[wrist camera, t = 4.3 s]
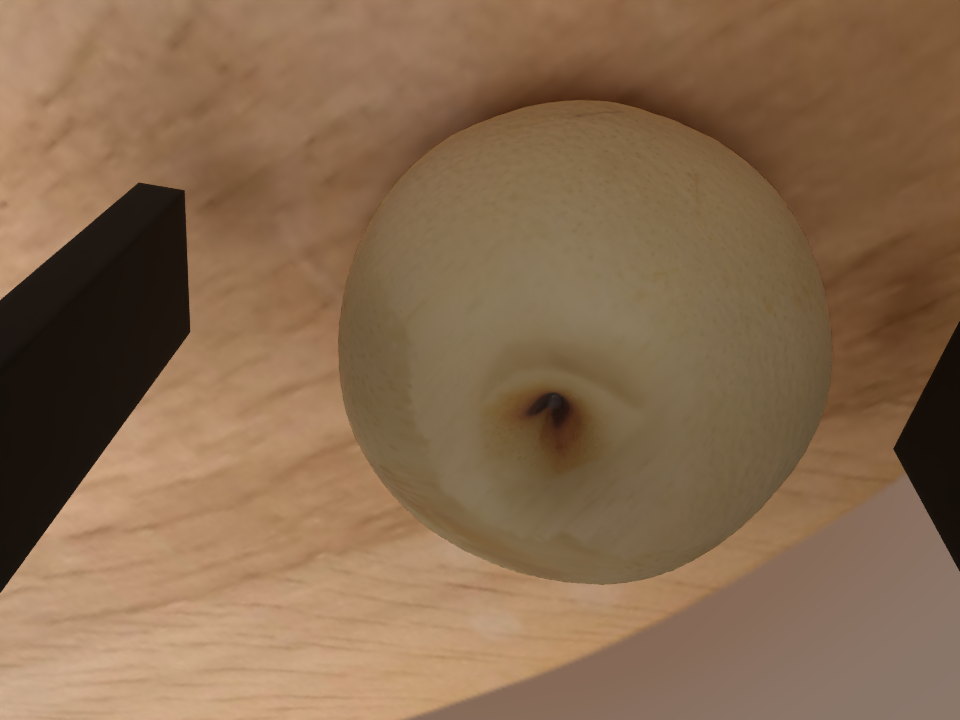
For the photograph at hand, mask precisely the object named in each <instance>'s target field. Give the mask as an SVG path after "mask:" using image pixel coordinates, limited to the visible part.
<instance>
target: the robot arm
mask: <svg viewBox="0 0 960 720" xmlns="http://www.w3.org/2000/svg"><path fill="white" fill-rule="evenodd" d="M189 333H190V313H189V288H188V263H187V238H186V213H185V190H179V189H174V188H168V187H162V186H156V185H150V184H144V183H138V184H137V185H135V186H134V187H133V188H132V189H131V190H130V191H128V192H127V193H126V194H125V195H124V196H122V197H121V198H120V199H119V200H118V201H117V202H115V203H114V204H113V205H112V206H111V207H109V208H108V209H107V210H106V211H105V212H104V213H102V214H101V215H100V216H99V217H98V218H96V219H95V220H94V221H93V222H92V223H91V224H89V225H88V226H87V227H86V228H85V229H84V230H82V231H81V232H80V233H79V234H78V235H76V236H75V237H74V238H73V239H72V240H71V241H69V242H68V243H67V244H66V245H65V246H63V247H62V248H61V249H60V250H59V251H58V252H56V253H55V254H54V255H53V256H52V257H50V258H49V259H48V260H47V261H46V262H45V263H43V264H42V265H41V266H40V267H39V268H38V269H36V270H35V271H34V272H33V273H32V274H30V275H29V276H28V277H27V278H26V279H25V280H23V281H22V282H21V283H20V284H19V285H17V286H16V287H15V288H14V289H13V290H12V291H10V292H9V293H8V294H7V295H6V296H5V297H3V298H2V299H1V300H0V593H1V591H2V590H3V589H4V587H5V586H6V584H7V583H8V582H9V580H10V579H11V578H12V576H13V575H14V574H15V572H16V571H17V569H18V568H19V567H20V565H21V564H22V563H23V561H24V560H25V558H26V557H27V556H28V554H29V553H30V552H31V550H32V549H33V547H34V546H35V545H36V543H37V542H38V541H39V539H40V538H41V536H42V535H43V534H44V532H45V531H46V530H47V528H48V527H49V525H50V524H51V523H52V521H53V520H54V519H55V517H56V516H57V514H58V513H59V512H60V510H61V509H62V508H63V506H64V505H65V503H66V502H67V501H68V499H69V498H70V497H71V495H72V494H73V492H74V491H75V490H76V488H77V487H78V486H79V484H80V483H81V481H82V480H83V479H84V477H85V476H86V475H87V473H88V472H89V470H90V469H91V468H92V466H93V465H94V464H95V462H96V461H97V459H98V458H99V457H100V455H101V454H102V453H103V451H104V450H105V448H106V447H107V446H108V444H109V443H110V442H111V440H112V439H113V437H114V436H115V435H116V433H117V432H118V431H119V429H120V428H121V426H122V425H123V424H124V422H125V421H126V420H127V418H128V417H129V415H130V414H131V413H132V411H133V410H134V409H135V407H136V406H137V404H138V403H139V402H140V400H141V399H142V398H143V396H144V395H145V393H146V392H147V391H148V389H149V388H150V387H151V385H152V384H153V382H154V381H155V380H156V378H157V377H158V376H159V374H160V373H161V371H162V370H163V369H164V367H165V366H166V365H167V363H168V362H169V360H170V359H171V358H172V356H173V355H174V354H175V352H176V351H177V350H178V348H179V347H180V345H181V344H182V343H183V341H184V340H185V339H186V337H187V336H188V334H189ZM893 449H894V451H895V453H896V455H897V457H898V459H899V460H900V462H901V464H902V466H903V468H904V470H905V471H906V473H907V475H908V477H909V479H910V481H911V483H912V484H913V486H914V488H915V490H916V492H917V494H918V495H919V497H920V499H921V501H922V503H923V504H924V506H925V508H926V510H927V512H928V514H929V516H930V517H931V519H932V521H933V523H934V525H935V527H936V529H937V531H938V532H939V534H940V535H941V538H942V540H943V542H944V543H945V545H946V547H947V549H948V551H949V552H950V555H951V556H952V558H953V560H954V562H955V564H956V566H957V567H958V569H959V571H960V321H959V323H958V325H957V327H956V329H955V331H954V333H953V334H952V336H951V338H950V340H949V342H948V344H947V346H946V348H945V350H944V352H943V354H942V356H941V358H940V360H939V361H938V363H937V365H936V367H935V369H934V371H933V373H932V375H931V377H930V379H929V381H928V383H927V385H926V387H925V389H924V390H923V392H922V394H921V396H920V398H919V400H918V402H917V404H916V406H915V408H914V410H913V412H912V414H911V416H910V417H909V419H908V421H907V423H906V425H905V427H904V429H903V431H902V433H901V435H900V437H899V439H898V441H897V443H896V445H895V446H894V448H893Z"/></svg>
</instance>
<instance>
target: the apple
mask: <svg viewBox="0 0 960 720" xmlns="http://www.w3.org/2000/svg"><path fill="white" fill-rule="evenodd" d="M339 325H340V326H339V339H338V344H339V370H340V382H341V388H342V393H343V400H344V405H345V409H346V413H347V416H348V419H349V422H350V425H351V428H352V430H353V433H354V435H355V438H356V440H357V442H358V444H359V446H360V448H361V450H362V452H363V453H364V455H365V457H366V459H367V460H368V462H369V463H370V465H371V467H372V468H373V470H374V472H375V473H376V474H377V475H378V477H379V478H380V480H381V481H382V483H383V484H384V485H385V486H386V488H387V489H388V490H389V491H390V492H391V494H392V495H393V496H394V497H395V498H396V499H397V500H398V501H399V502H400V503H401V504H402V505H403V506H404V507H405V509H406V510H407V511H409V512H410V513H411V514H412V515H413V516H414V517H415V518H417V519H418V520H419V521H420V522H421V523H423V524H424V525H425V526H426V527H428V528H429V529H430V530H432V531H433V532H435V533H437V534H438V535H439V536H441V537H442V538H444V539H446V540H448V541H449V542H450V543H452V544H454V545H456V546H457V547H459V548H461V549H463V550H465V551H467V552H469V553H471V554H473V555H475V556H477V557H480V558H482V559H484V560H487V561H489V562H491V563H493V564H496V565H498V566H500V567H503V568H507V569H509V570H513V571H516V572H519V573H523V574H526V575H531V576H536V577H540V578H544V579H550V580H557V581H562V582H571V583H586V584H600V585H604V584H617V583H627V582H632V581H639V580H644V579H648V578H652V577H654V576H657V575H661V574H664V573H666V572H670V571H673V570H675V569H677V568H679V567H681V566H683V565H685V564H687V563H689V562H691V561H693V560H695V559H696V558H698V557H700V556H701V555H703V554H705V553H707V552H708V551H710V550H711V549H713V548H715V547H716V546H718V545H719V544H720V543H722V542H723V541H724V540H726V539H727V538H728V537H729V536H731V535H732V534H734V533H735V532H736V531H737V530H738V529H739V528H741V527H742V526H743V525H744V524H745V523H746V522H747V521H748V520H749V519H750V518H751V517H752V516H753V515H754V514H755V513H757V512H758V511H759V510H760V509H761V507H762V506H763V505H764V504H765V503H766V502H767V501H768V500H769V499H770V498H771V496H772V495H773V494H774V493H775V492H776V491H777V489H778V488H779V487H780V486H781V485H782V483H783V482H784V481H785V480H786V478H787V477H788V476H789V475H790V473H791V472H792V471H793V469H794V468H795V466H796V465H797V463H798V462H799V461H800V459H801V457H802V456H803V454H804V453H805V451H806V449H807V447H808V446H809V444H810V442H811V440H812V438H813V436H814V434H815V432H816V430H817V427H818V425H819V422H820V420H821V417H822V414H823V412H824V409H825V405H826V401H827V397H828V392H829V387H830V380H831V370H832V332H831V326H830V318H829V311H828V306H827V300H826V295H825V291H824V286H823V281H822V278H821V276H820V272H819V269H818V266H817V263H816V261H815V258H814V256H813V253H812V251H811V248H810V246H809V244H808V241H807V239H806V237H805V235H804V233H803V231H802V229H801V227H800V226H799V224H798V222H797V221H796V219H795V217H794V215H793V214H792V212H791V210H790V209H789V208H788V206H787V205H786V203H785V202H784V200H783V199H782V198H781V196H780V195H779V194H778V193H777V191H776V190H775V189H774V188H773V187H772V185H771V184H770V183H769V182H768V181H767V180H766V179H765V178H764V177H763V176H762V175H761V174H760V173H759V172H758V171H757V170H756V169H755V168H754V167H752V166H751V165H750V164H749V163H747V162H746V161H745V160H744V159H743V158H741V157H740V156H738V155H737V154H736V153H735V152H733V151H732V150H730V149H729V148H727V147H726V146H724V145H723V144H722V143H720V142H719V141H717V140H715V139H713V138H712V137H710V136H707V135H704V134H703V133H701V132H699V131H696V130H694V129H692V128H690V127H687V126H685V125H683V124H681V123H680V122H677V121H674V120H672V119H670V118H666V117H663V116H660V115H656V114H653V113H651V112H648V111H645V110H643V109H640V108H636V107H632V106H628V105H624V104H620V103H615V102H609V101H599V100H595V101H593V100H574V101H559V102H551V103H544V104H538V105H533V106H528V107H524V108H520V109H517V110H515V111H511V112H508V113H505V114H502V115H499V116H495V117H493V118H491V119H488V120H486V121H483V122H480V123H477V124H475V125H473V126H470V127H468V128H466V129H465V130H460V131H459V132H457V133H456V134H454V135H452V136H450V137H448V138H447V139H445V140H444V141H442V142H441V143H439V144H438V145H437V146H435V147H433V148H432V149H431V150H430V151H429V152H427V153H426V154H425V155H424V156H423V157H422V158H421V159H419V160H418V161H417V162H416V163H414V164H413V165H412V166H411V167H410V168H409V169H408V170H407V172H406V173H404V174H403V176H402V177H401V178H400V179H399V180H398V181H397V183H396V184H395V185H394V186H393V187H392V188H391V190H390V191H389V192H388V194H387V195H386V197H385V198H384V199H383V201H382V202H381V204H380V206H379V207H378V209H377V210H376V212H375V213H374V215H373V217H372V219H371V221H370V223H369V225H368V227H367V229H366V231H365V233H364V236H363V238H362V240H361V242H360V244H359V246H358V248H357V251H356V253H355V256H354V259H353V262H352V264H351V267H350V270H349V274H348V277H347V281H346V286H345V291H344V295H343V303H342V308H341V317H340V324H339Z"/></svg>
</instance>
